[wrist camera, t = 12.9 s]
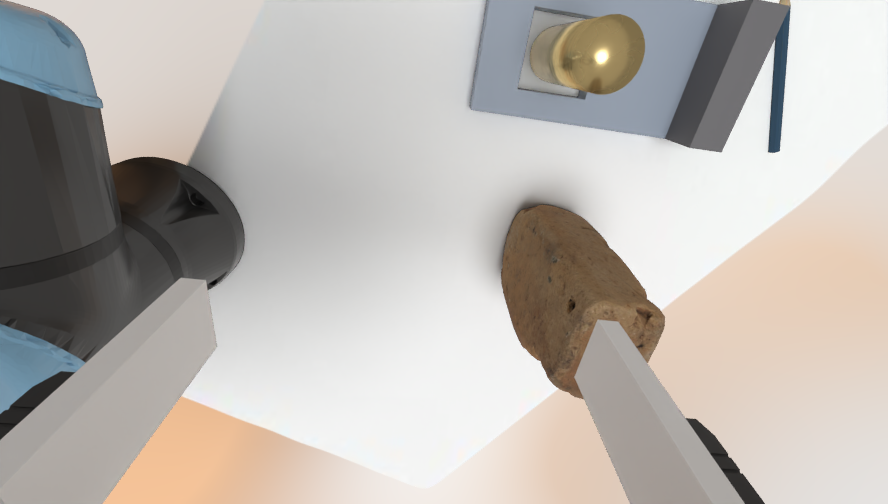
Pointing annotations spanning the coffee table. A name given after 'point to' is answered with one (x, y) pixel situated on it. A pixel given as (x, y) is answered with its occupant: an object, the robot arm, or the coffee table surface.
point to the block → (570, 291)
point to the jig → (661, 73)
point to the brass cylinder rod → (590, 54)
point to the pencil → (779, 82)
